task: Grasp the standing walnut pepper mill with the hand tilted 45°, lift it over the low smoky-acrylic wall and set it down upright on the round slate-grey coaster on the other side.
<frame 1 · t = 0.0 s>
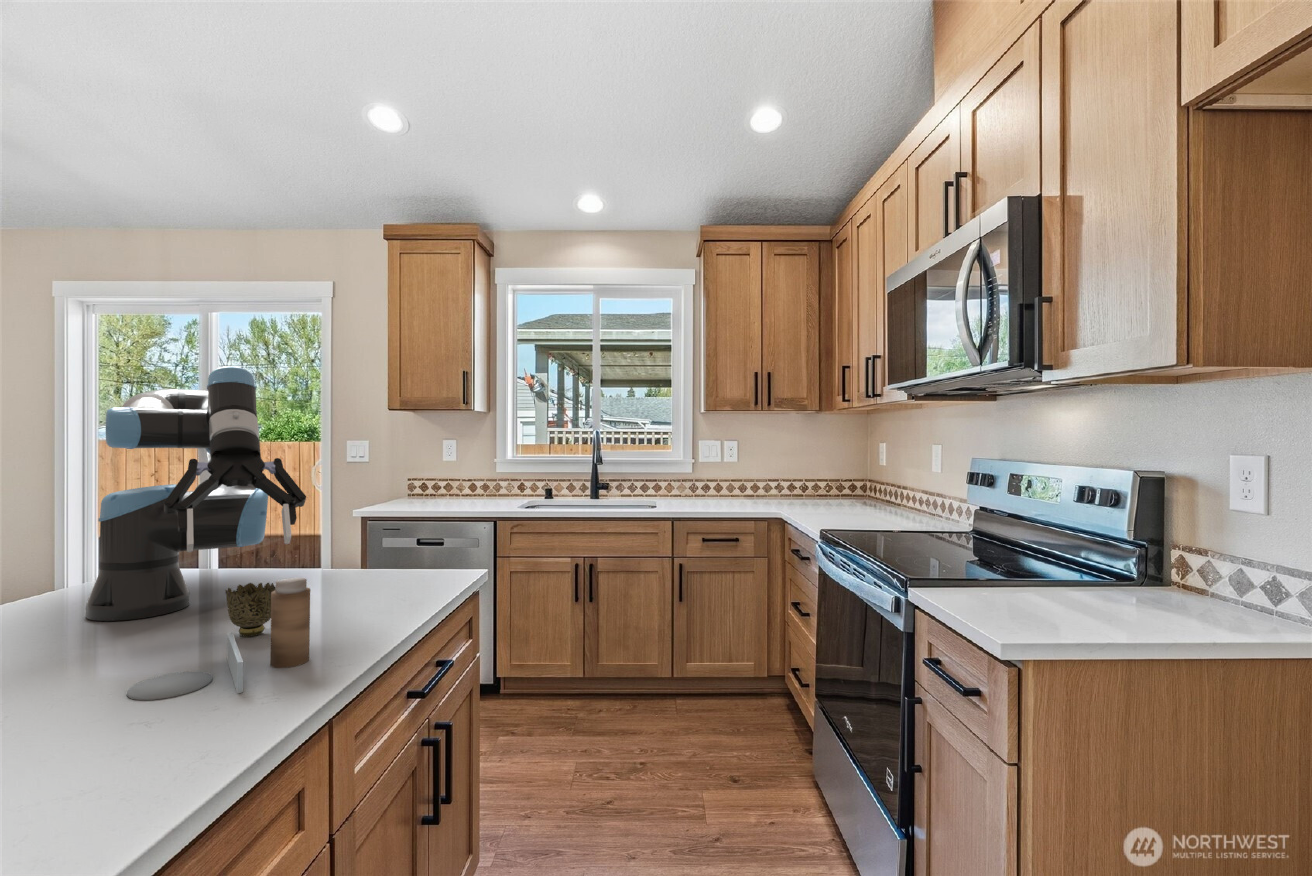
hand: (241, 544, 104), 15 cm above the counter, tool tilted 35°, fingers open, 13 cm apart
pepper mill: (290, 661, 93), on the counter
cup: (251, 635, 105), on the counter
coaster: (170, 685, 83), on the counter
acrylic wall: (234, 675, 87), on the counter
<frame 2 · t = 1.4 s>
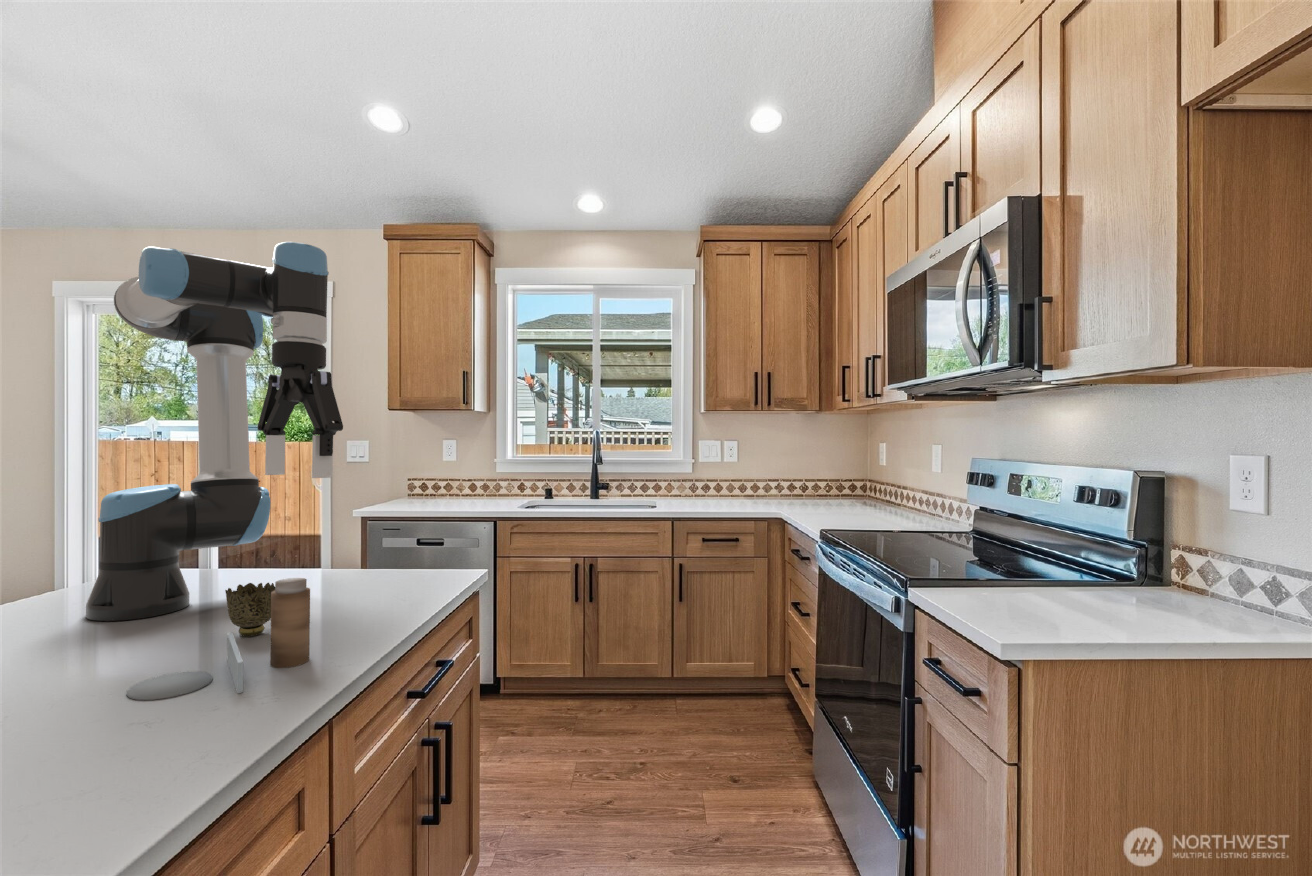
hand: (297, 476, 99), 27 cm above the counter, tool pointing down, fingers open, 13 cm apart
nothing on the counter moved.
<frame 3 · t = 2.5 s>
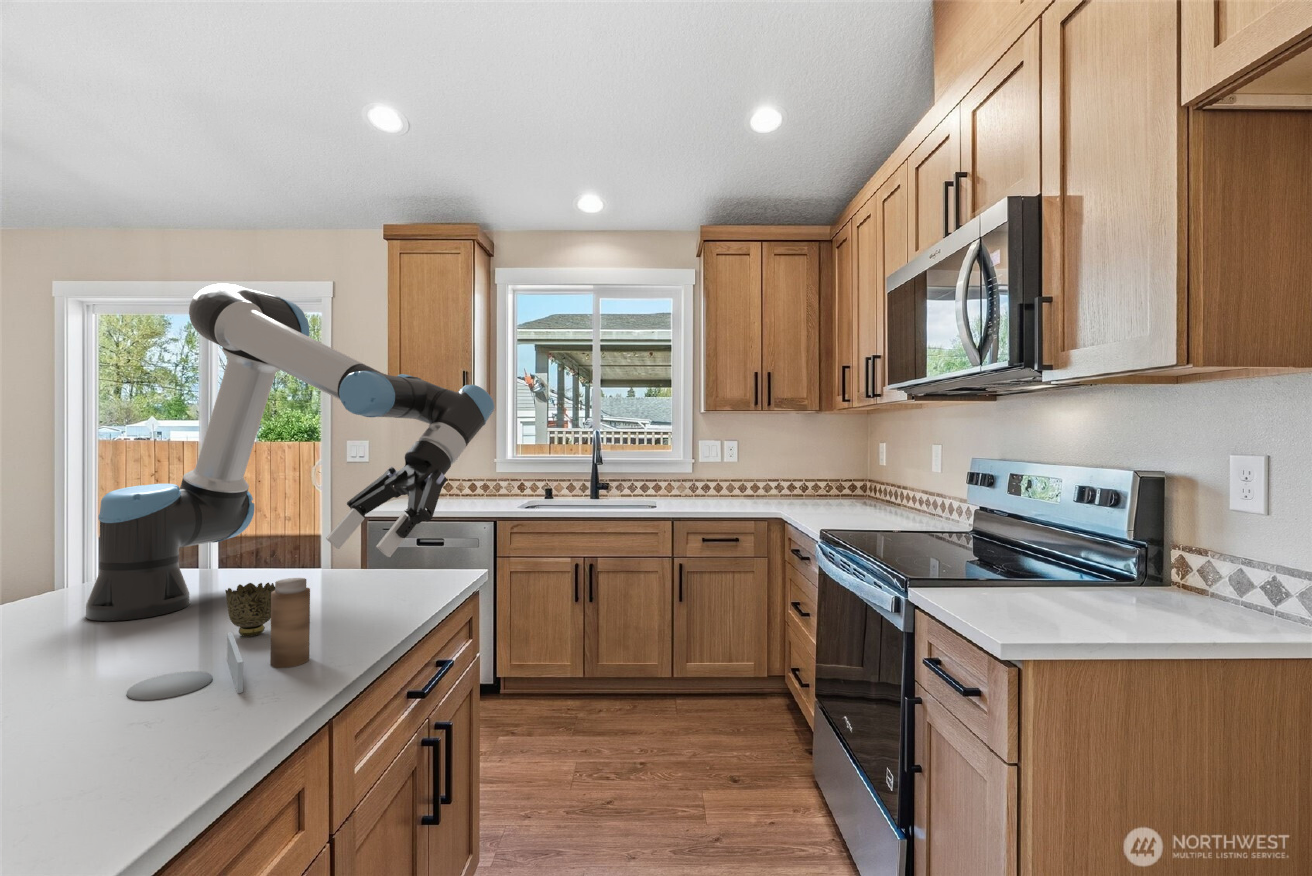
hand: (356, 547, 101), 16 cm above the counter, tool tilted 45°, fingers open, 13 cm apart
nothing on the counter moved.
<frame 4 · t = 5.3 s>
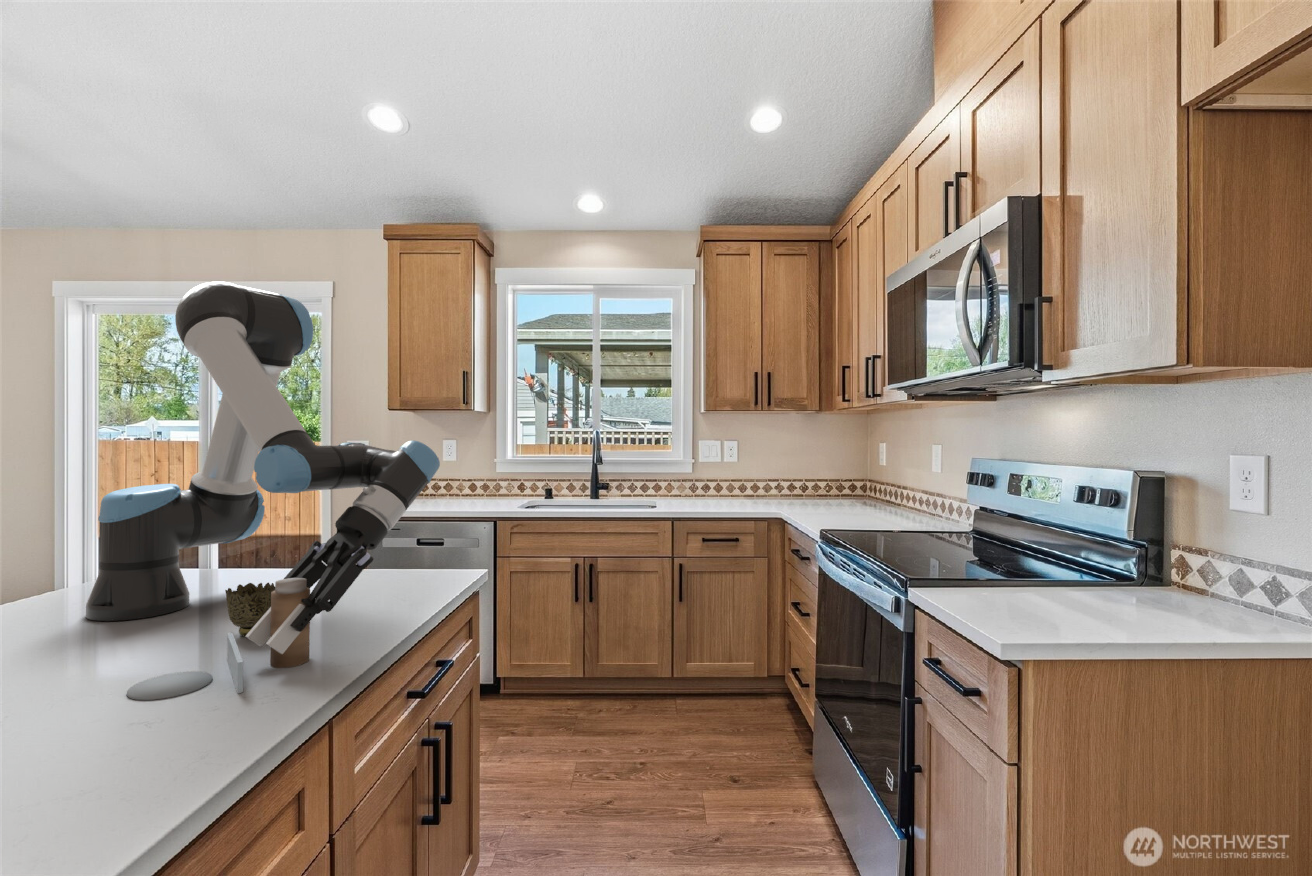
hand: (263, 644, 90), 3 cm above the counter, tool tilted 45°, fingers closed on pepper mill, 5 cm apart
pepper mill: (290, 661, 93), on the counter, touching gripper
everything else where it was.
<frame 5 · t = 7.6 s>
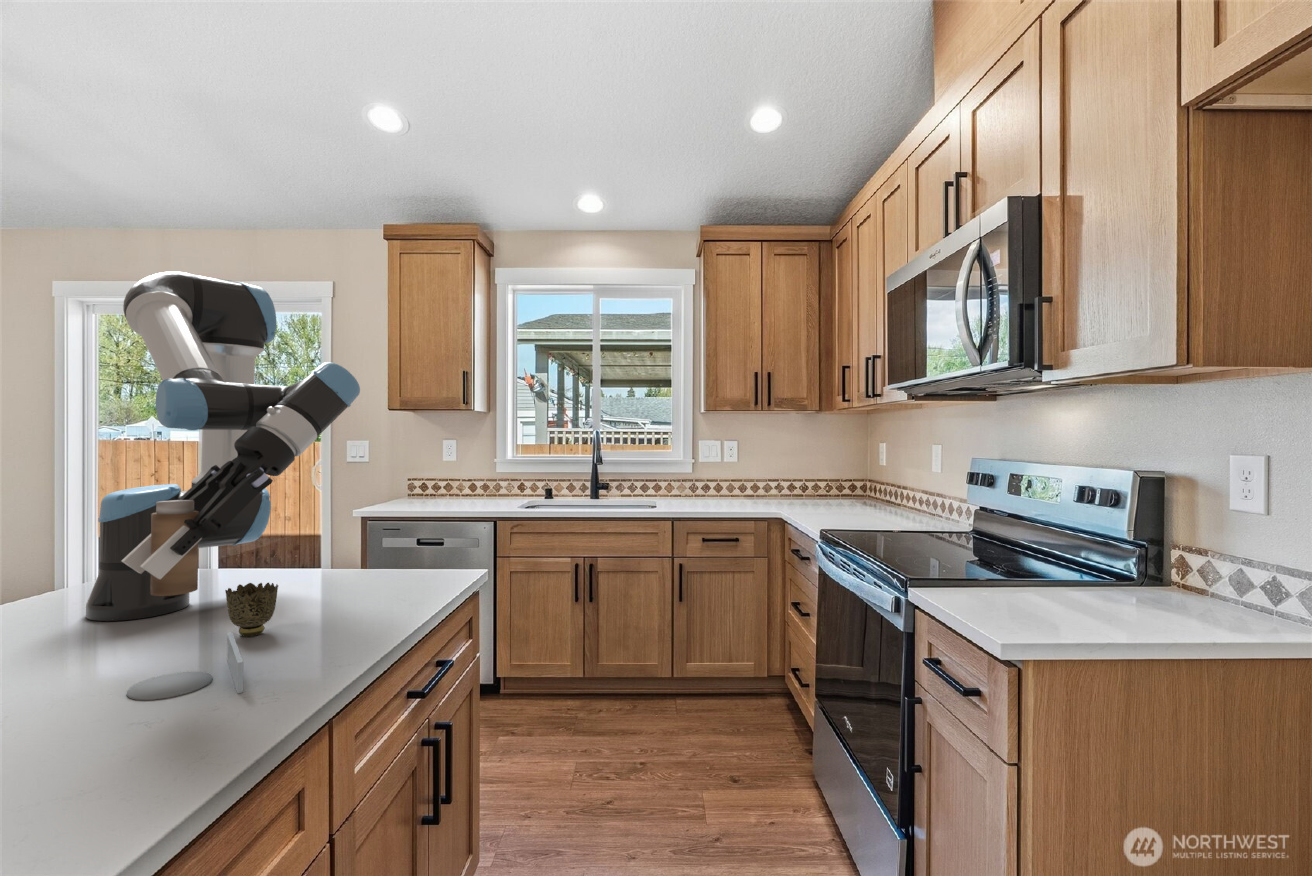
hand: (140, 569, 80), 16 cm above the counter, tool tilted 45°, fingers closed on pepper mill, 5 cm apart
pepper mill: (174, 591, 83), point 13 cm above the counter, touching gripper
everything else where it was.
when the fingers open (5 cm above the counter, at t = 9.9 s): pepper mill drops 1 cm, resting on coaster.
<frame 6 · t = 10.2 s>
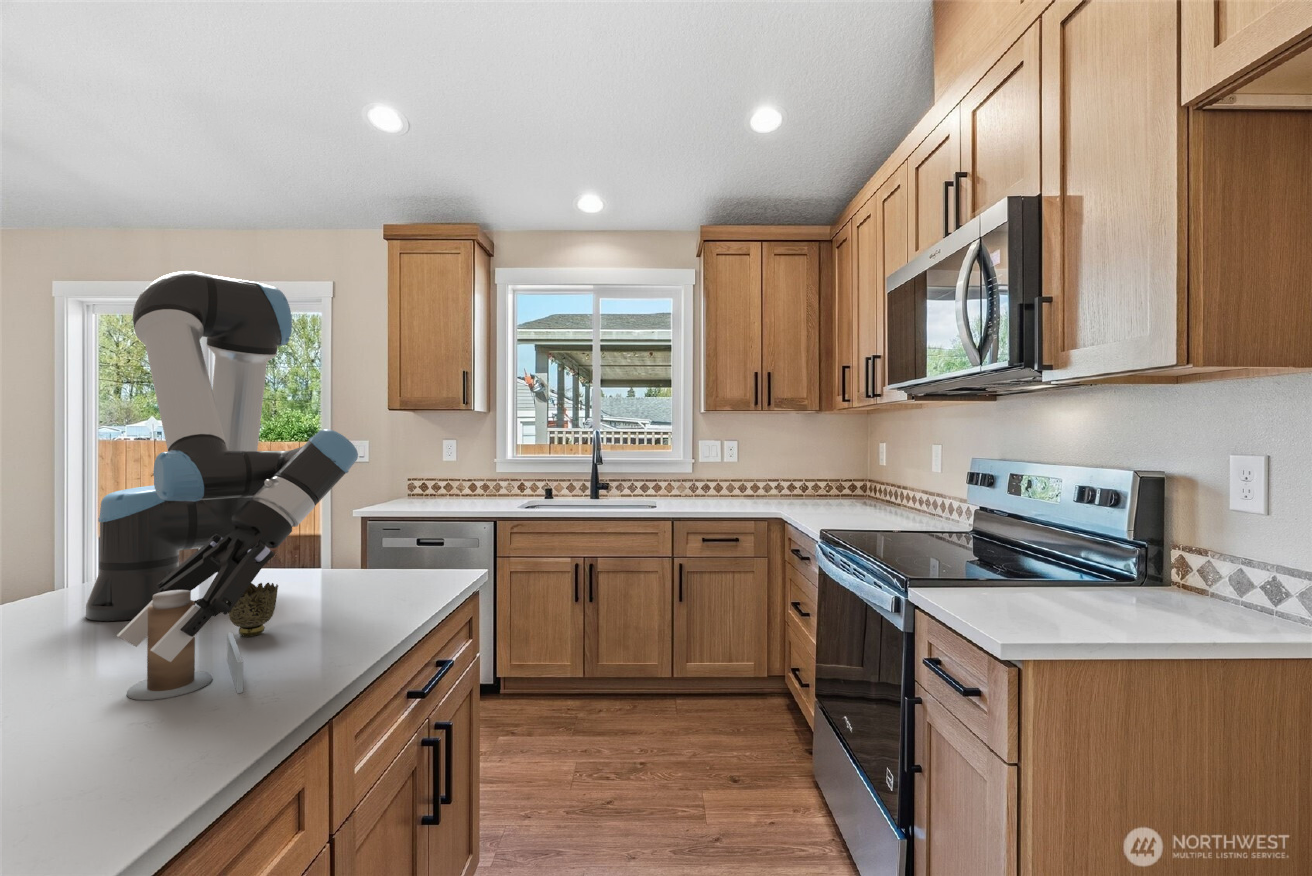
hand: (142, 648, 81), 6 cm above the counter, tool tilted 45°, fingers open, 9 cm apart
pepper mill: (171, 683, 83), resting on coaster
everything else where it was.
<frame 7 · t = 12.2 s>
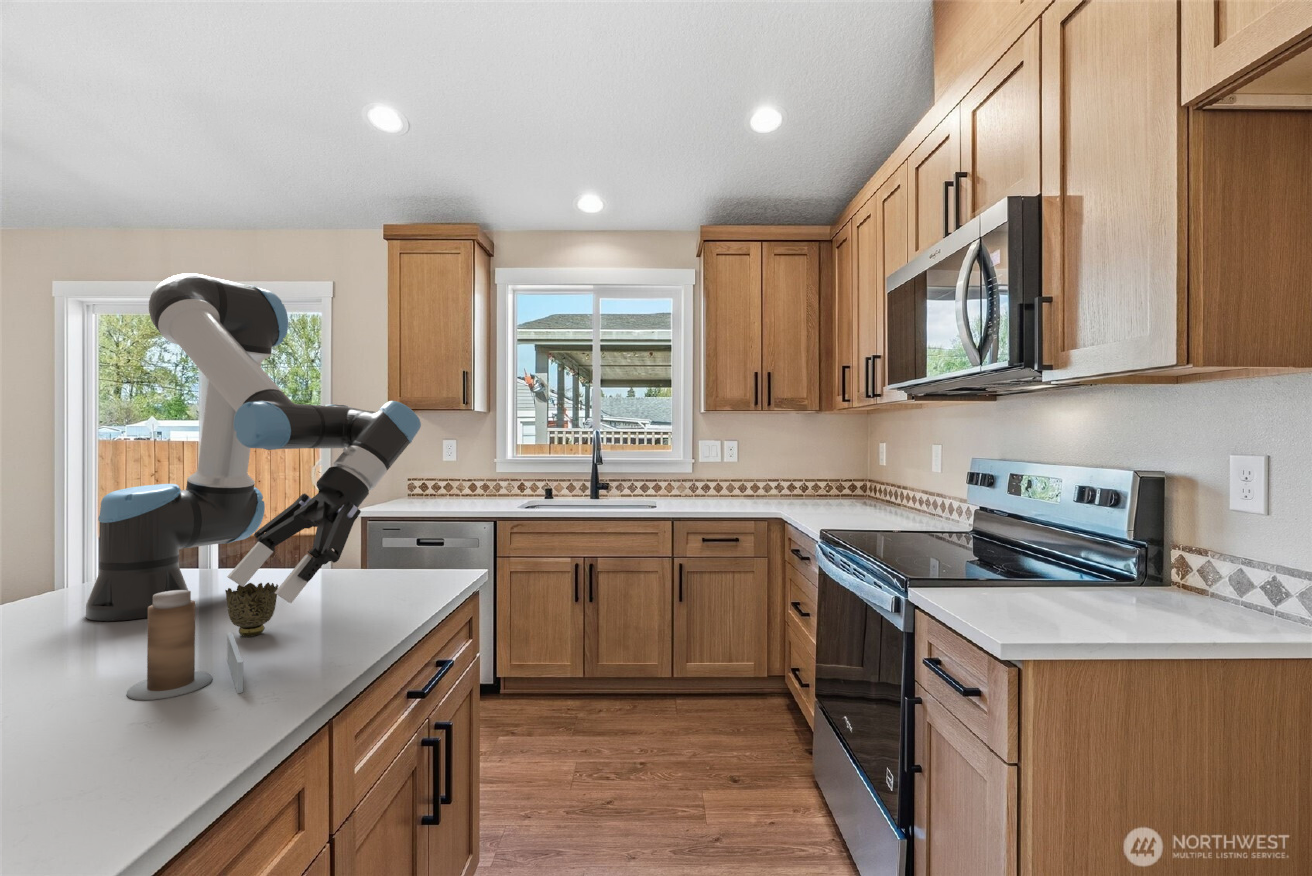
hand: (257, 589, 93), 11 cm above the counter, tool tilted 40°, fingers open, 13 cm apart
nothing on the counter moved.
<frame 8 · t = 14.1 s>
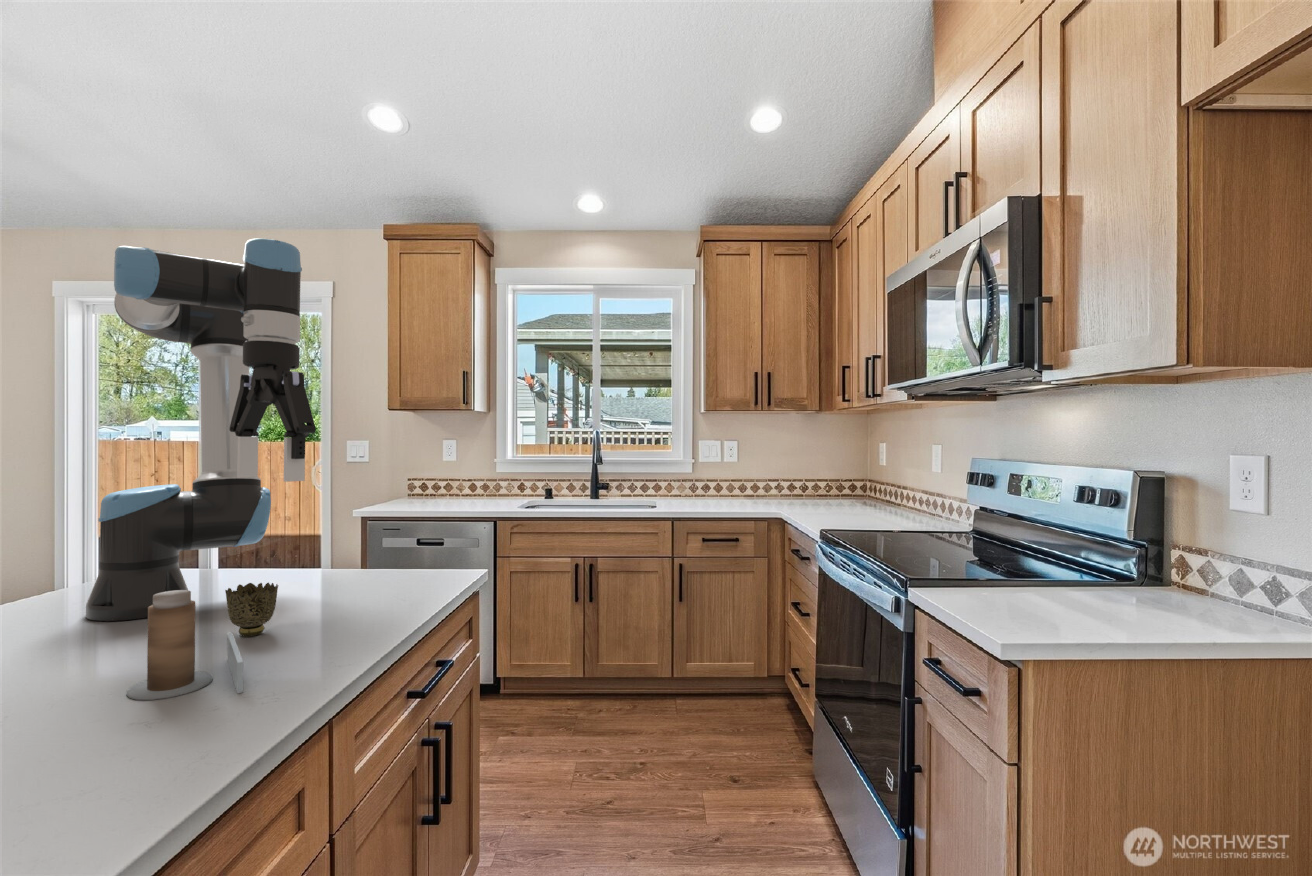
hand: (270, 479, 97), 27 cm above the counter, tool pointing down, fingers open, 13 cm apart
nothing on the counter moved.
at the end: pepper mill 0.1 cm from the coaster (horizontally); pepper mill tilted 0°; pepper mill resting on coaster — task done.
